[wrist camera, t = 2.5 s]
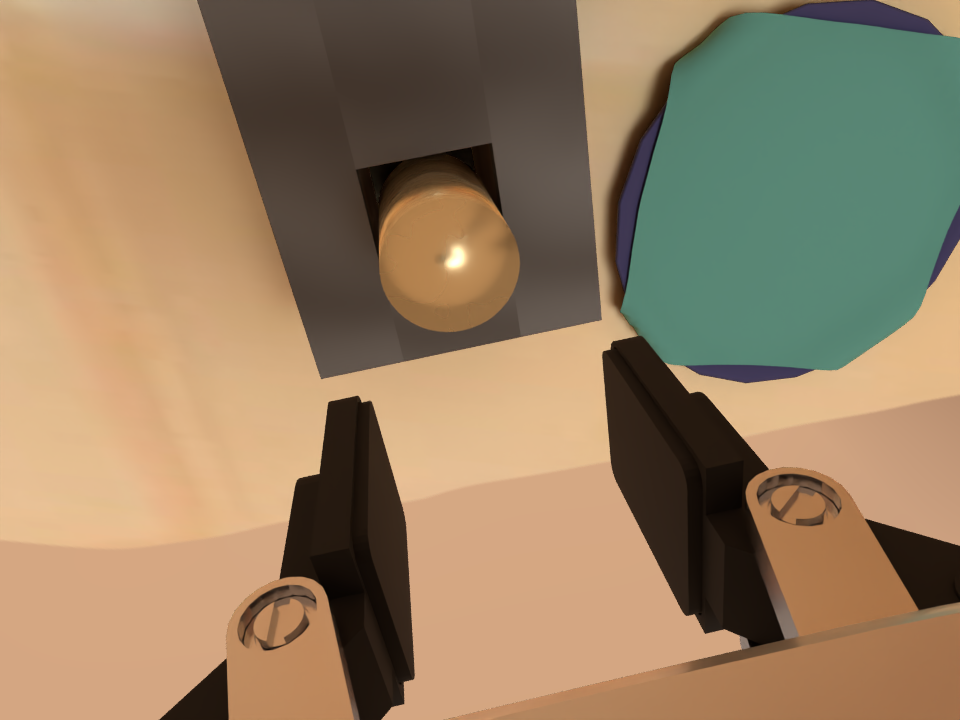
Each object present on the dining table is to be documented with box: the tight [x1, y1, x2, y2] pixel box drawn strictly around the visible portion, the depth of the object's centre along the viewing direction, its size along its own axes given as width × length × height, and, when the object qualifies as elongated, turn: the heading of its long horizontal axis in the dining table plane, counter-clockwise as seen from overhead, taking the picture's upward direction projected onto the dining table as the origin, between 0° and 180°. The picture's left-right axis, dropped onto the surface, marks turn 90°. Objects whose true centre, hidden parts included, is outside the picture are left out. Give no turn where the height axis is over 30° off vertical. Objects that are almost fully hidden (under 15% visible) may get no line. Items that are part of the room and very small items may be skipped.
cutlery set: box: [615, 0, 960, 383], centre depth 33 cm, size 20×30×2 cm, turn 174°
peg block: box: [197, 0, 602, 379], centre depth 26 cm, size 22×12×8 cm, turn 9°
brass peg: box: [379, 153, 520, 332], centre depth 24 cm, size 4×4×7 cm
